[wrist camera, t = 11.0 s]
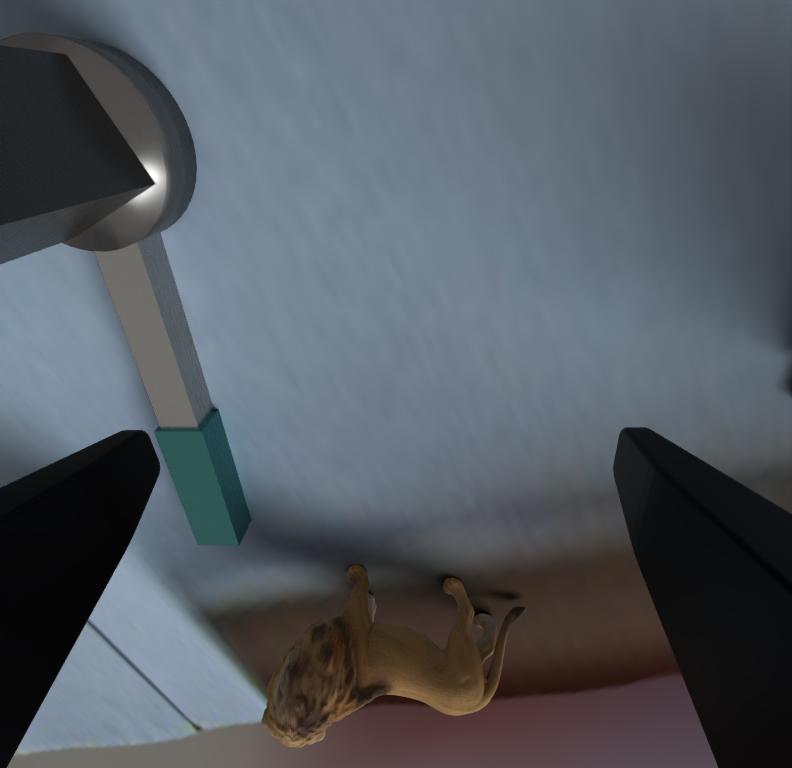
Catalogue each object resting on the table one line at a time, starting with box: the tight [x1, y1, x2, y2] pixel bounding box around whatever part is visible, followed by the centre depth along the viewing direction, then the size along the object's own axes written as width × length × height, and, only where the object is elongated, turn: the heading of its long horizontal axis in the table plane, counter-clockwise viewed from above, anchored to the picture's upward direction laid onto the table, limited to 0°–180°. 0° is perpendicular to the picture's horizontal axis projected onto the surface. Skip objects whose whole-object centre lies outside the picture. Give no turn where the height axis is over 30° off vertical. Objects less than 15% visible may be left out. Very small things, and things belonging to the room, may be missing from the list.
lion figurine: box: [262, 565, 527, 748], centre depth 27 cm, size 15×5×9 cm, turn 92°
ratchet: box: [0, 33, 251, 546], centre depth 21 cm, size 7×24×5 cm, turn 4°
